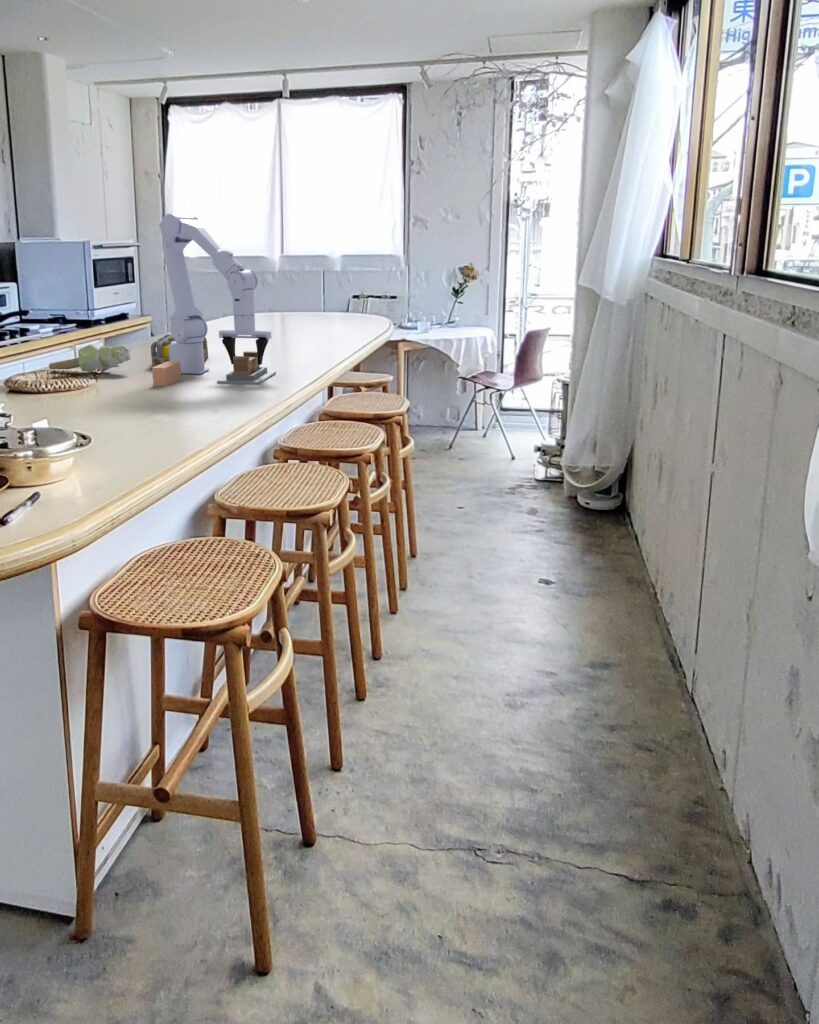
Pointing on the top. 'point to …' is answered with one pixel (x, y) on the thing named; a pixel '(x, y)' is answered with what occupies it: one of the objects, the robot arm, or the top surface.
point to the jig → (248, 377)
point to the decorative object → (95, 358)
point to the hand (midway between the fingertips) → (246, 364)
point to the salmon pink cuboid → (166, 373)
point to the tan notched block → (246, 363)
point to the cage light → (163, 352)
